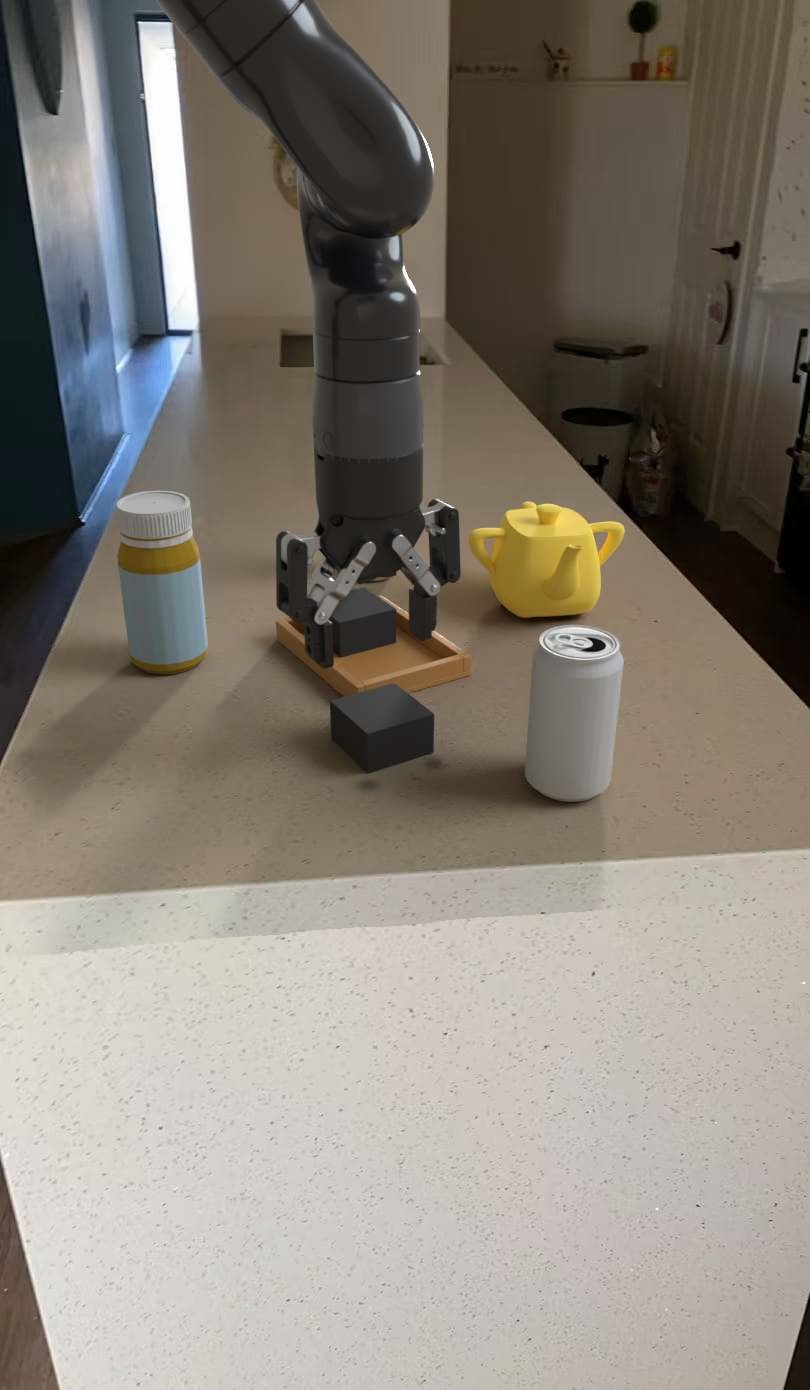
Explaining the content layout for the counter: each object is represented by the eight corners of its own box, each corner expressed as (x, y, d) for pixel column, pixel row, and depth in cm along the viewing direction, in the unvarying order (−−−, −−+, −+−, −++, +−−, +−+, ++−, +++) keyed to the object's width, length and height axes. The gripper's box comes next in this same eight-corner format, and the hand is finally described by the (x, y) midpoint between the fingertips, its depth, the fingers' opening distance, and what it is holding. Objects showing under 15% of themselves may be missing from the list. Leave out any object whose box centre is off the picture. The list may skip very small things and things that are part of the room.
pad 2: (367, 773, 83) (367, 734, 82) (330, 738, 88) (329, 700, 86) (433, 752, 86) (434, 713, 84) (394, 719, 90) (394, 682, 89)
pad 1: (340, 657, 99) (339, 622, 98) (309, 633, 104) (308, 599, 102) (396, 643, 102) (396, 608, 100) (364, 620, 106) (364, 586, 105)
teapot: (635, 602, 112) (647, 506, 107) (571, 644, 103) (580, 541, 98) (523, 570, 119) (529, 478, 115) (454, 606, 111) (457, 509, 106)
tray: (357, 708, 92) (356, 687, 91) (276, 639, 104) (275, 620, 103) (470, 675, 97) (471, 655, 96) (381, 613, 109) (381, 595, 108)
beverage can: (600, 815, 79) (617, 667, 73) (514, 797, 80) (523, 651, 75) (616, 770, 84) (633, 629, 78) (535, 754, 86) (546, 615, 80)
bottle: (185, 682, 96) (168, 519, 89) (116, 669, 98) (94, 509, 91) (221, 649, 102) (209, 494, 95) (155, 638, 104) (138, 485, 96)
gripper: (426, 412, 81) (424, 612, 88) (250, 441, 74) (265, 654, 82) (485, 436, 75) (478, 647, 83) (300, 469, 68) (311, 695, 76)
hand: (372, 650), depth 82 cm, fingers open, 8 cm apart
